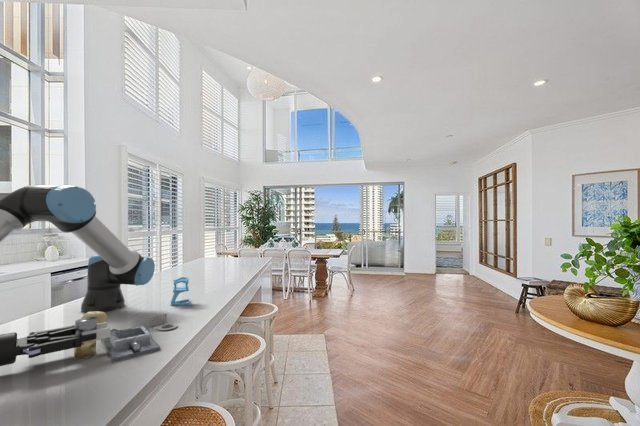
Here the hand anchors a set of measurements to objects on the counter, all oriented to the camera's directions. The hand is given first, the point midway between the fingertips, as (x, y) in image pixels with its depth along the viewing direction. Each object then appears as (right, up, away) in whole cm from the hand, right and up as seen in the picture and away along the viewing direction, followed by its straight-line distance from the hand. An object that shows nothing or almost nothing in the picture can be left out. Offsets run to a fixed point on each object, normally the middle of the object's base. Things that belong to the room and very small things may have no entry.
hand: (108, 329), depth 90 cm
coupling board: (+4, -6, +4) cm, 8 cm away
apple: (-14, -6, +13) cm, 20 cm away
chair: (-1, -7, +48) cm, 48 cm away
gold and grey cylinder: (-4, -6, -4) cm, 8 cm away
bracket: (+6, -7, +20) cm, 22 cm away
